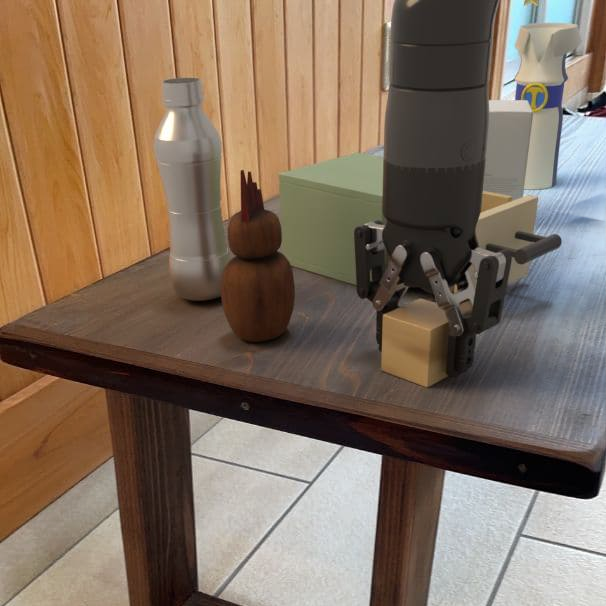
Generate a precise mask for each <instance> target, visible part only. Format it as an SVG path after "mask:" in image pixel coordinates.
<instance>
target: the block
mask: <svg viewBox="0 0 606 606" xmlns="http://www.w3.org/2000/svg"><path fill="white" fill-rule="evenodd" d="M461 312H462V311H461ZM462 315H463V314H462ZM450 333H452V332H451V329H450V326H449V323H448V320H447V318H446V315H445V312H444V310H441V309H440V308H439V307H438V305H437V302H434V301H431V300H427V299H424V298H421V297H420V298H418V299H416V300H413V301H411V302H409V303H407V304H404V305H402V306H401V307H400V308H398V309H395V310H393V311H391V312H389V313H386V314H384V315H383V328H382V352H381V367H380V369H381V370H380V371H381V372H384V373H387V374H389V375H391V376H395V377H397V378H400V379H402V380H403V379H404V380H406V381H409V382H410V383H414V384H416V385H419V386H422V387H425V388H429V387H431V386H433V385H435V384H436V383H438V382H441V381H443V380H445V379H446V378H447V377H449V376H448V375H447V374H446V363H447V350H448V337H449V334H450Z"/></svg>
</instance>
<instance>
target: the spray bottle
mask: <svg viewBox="0 0 606 606" xmlns="http://www.w3.org/2000/svg"><path fill="white" fill-rule="evenodd" d="M531 3H532V4H533V5H535V7H539V0H524V2H523V7H524V6H526V5H527V6H528V5H529V4H531ZM582 42H583V39H582V36H581V33H580V30H579V26H578V24H576V23H568V22H535V23H534V22H533V23H526V24H523V25H521V26H519V29H518V34H517V36H516V39H515V42H514V47H515V49H516V50H517V53H518V55H519V58H520V59H521V60H520V65H519V69H518V71H517V73H516V74H515V76H514V80H515V82H516V87H515V95H514V100H528V102H529V104H530V106H531V109H532V111H533V118H532V125H531V133H530V141H529V150H528V158H527V166H526V174H525V182H524V190H544V189H550V188H553V187H555V186H556V185H557V178H558V166H559V156H560V155H559V154H560V147H561V138H562V131H563V122H564V111H563V106H562V104H563V98H564V97H563V96H564V90H565V83H566V82H567V81H568V80H569V76H568V73H567V70H566V69H567V68H566V60H567V57H568V54H569V53H571V52H573V51H574V50H577V48H578V47H579V46H580V45H581V44H582Z"/></svg>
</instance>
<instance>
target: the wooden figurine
mask: <svg viewBox="0 0 606 606" xmlns="http://www.w3.org/2000/svg"><path fill="white" fill-rule="evenodd" d="M239 173H240V210H239V211H237V212H235V213H234V214H232V216H231V218H230V219H229V221H228V224H227V225H228V226H227V243H228V248H229V250H230V252H231V253H232V254H233V255H234V256H233V257H232V258H231V260H230V261H229V262H228V263H227V265H226V266H225V267H224V271H223V274H222V277H221V296H220V297H221V305H222V310H223V312H224V316H225V319H226V321H227V322H228V323H227V324H228V325H229V327H230V328H231V330H232V332H233V333H234V334H235V336H237V337H239V338H240V339H241V340H242V341H246V342H250V343H260V342H261V343H262V342H266V341H269V340H270V341H271V340H273V339H276V338H278V337H280V336H281V335H282V334H283V333H285V331H286V329H287V328H288V326H289V323H290V321H291V319H292V316H293V315H292V314H293V311H294V307H295V306H294V305H295V298H296V287H295V285H296V284H295V278H294V272H293V268H292V266H291V265H290V262H289V261H288V259H287V258H286V257H285V255H283V254H282V251H279V250H280V248H281V247H282V231H281V220H280V219H279V216H277V214H276V213H275V212H274V211H271V210H268V209H265V205H264V199H263V194H262V189H261V188H258V183H257V182H256V181H253V176H252V171H249V170H248V171H247V179H246V173H245V170H244V169H240V172H239Z"/></svg>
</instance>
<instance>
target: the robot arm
mask: <svg viewBox="0 0 606 606" xmlns="http://www.w3.org/2000/svg"><path fill="white" fill-rule="evenodd" d="M500 1H501V0H393V4H392V9H391V10H392V11H391V18H390V34H389V35H390V37H389V40H390V41H389V65H388V66H389V67H388V68H389V70H388V82H389V84H388V91H387V92H388V93H387V99H386V106H385V113H384V123H383V124H384V125H383V126H384V127H383V155H382V157H383V194H382V213H383V216H384V217H385V218H386V220H387V222H386V225H383V223H382V222H381V221H380V220H376V221H373V222H369V223H366V224H363V225H361V226H359V227H356V228H355V230H354V242H355V263H356V284H357V285H356V294H357V296H358V297H359V299H361V300H365V299H367V300H369V302H371V303H372V307H373V309H374V310H375V311H376V319H375V320H376V321H375V322H376V323H375V324H376V325H375V326H376V327H375V339H376V344H377V345H378V350H379V352H380V353H382V328H383V315H384V314H386V313H389V312H391V311H393V310H395V309H398V308H400V307H402V306H400V305H399V303H400V302H401V301H402V300H403V298H404V296H405V294H406V292H407V291H408V290H409V288H420V289H421V290H423V291H424V292H426V293H429V294H432V295H433V296H434V299H435V301H436V302H435V303H437V305H438V307H439V308H440V309H441V310H444V312H445V315H446V318H447V320H448V323H449V326H450V329H451V332H452V333H450V334H449V337H448V350H447V363H446V374H447V375H448V377H451V378H455V379H456V378H458V377H459V376H460V375H463V374H464V373H466V372H467V371H468V369H470V368H471V367H472V366H473V364H474V362H475V361H474V360H475V349H476V340H477V335H480V334H482V333H484V332H486V331H488V330H489V329H492V328H493V327H495V326H497V325H499V324H500V323H501V320H502V315H503V309H504V303H505V298H506V293H507V289H508V285H507V283H508V278H509V272H510V267H511V262H512V256H511V254H510V252H509V251H507V250H502V251H500V252H497V253H494V252H491V251H488V250H485V249H482V248H479V244H478V241H477V237H476V225H477V222H478V219H479V216H480V213H481V205H482V194H483V183H484V173H485V162H486V150H487V140H488V129H489V100H490V97H489V96H490V83H489V82H490V77H491V67H492V66H491V65H492V56H493V55H492V54H493V45H494V44H493V43H494V39H493V38H494V33H495V21H496V15H497V12H498V8H499V6H500V5H499V4H500ZM385 247H386V249H387V252H388V254H389V256H390V258H391V261H390V263H389V265H388V266H387V268H386V270H385ZM472 264H473V266H474V269H475V273H474V274H473V278H474V279H477V284H476V290H475V288H474V285H473V282H472V279H471V276H470V273H469V270H468V269H469V267H470V266H471V265H472ZM370 271H371V276H372V281H370ZM455 284H456V285H457V292H456V293H455V294H454V292H451V291H450V289H449V288H451V287H453V286H454V285H455ZM461 311H462V312H461ZM462 314H463V315H462Z"/></svg>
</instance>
